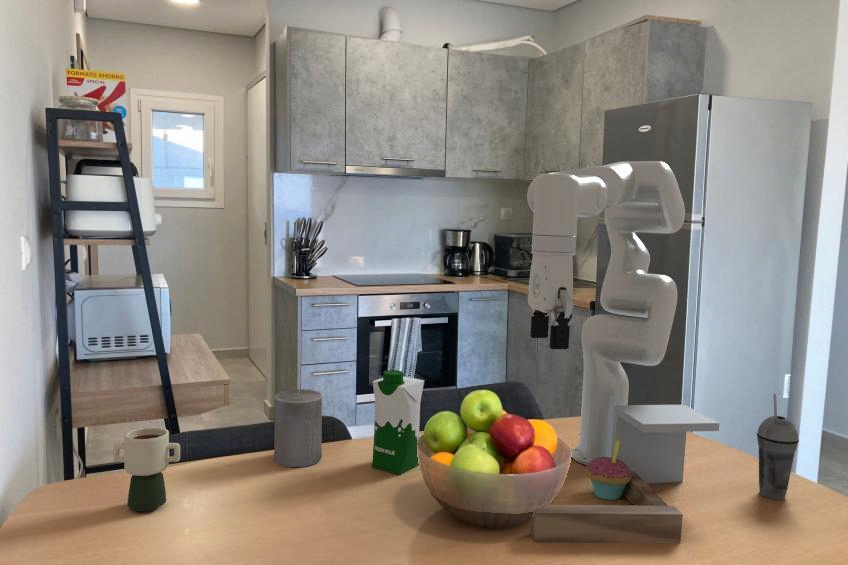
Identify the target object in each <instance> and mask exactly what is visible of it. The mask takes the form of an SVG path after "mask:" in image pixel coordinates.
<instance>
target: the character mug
mask: <svg viewBox="0 0 848 565" xmlns="http://www.w3.org/2000/svg"><path fill="white" fill-rule="evenodd" d="M169 440H170V431H169V430H168V429H166V428H164V427H158V426H147V427H141V428H139V427H138V428H135V429H131V430H129V431H127V432H126V433H124V441H123V442H121V443H120V442H119V443H118V442H117V443H114V444H113V449H112V450H113V451H112V452H113V453H112V454H113V456H112V457H113V462H115V463H124V464H123V465H124V470H125V472H126V474H128V475H131V477H130V482H129V490H128V495H127V496H128V497H127V505H126V506H127V507H128V508H129V509H130V510H132V511H136V512H148V511H151V510H155V509H157V508H160V507H161V506H163V505H165V503H167V491H166V483H165V477H164V474H163V472H164V471H165V470H166V469H167V468H168V466H169V464H170V463H173V462H174V463H175V462H176V463H177V462H179V461H180V460H181V444H180V443H178V442H170V441H169ZM122 449H123V451H124V454H123V456H120V450H122ZM172 449H173V454H174V455H172V456H170V450H172Z"/></svg>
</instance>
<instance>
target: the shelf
mask: <svg viewBox="0 0 848 565" xmlns="http://www.w3.org/2000/svg"><path fill="white" fill-rule="evenodd" d="M719 431H720V422H718V421H717V420H715V419H712V418H710V417H708V416H706V415H705V414H703V413H701V412H700V411H697V410H695V409H694V408H692V407H690V406H688V405H686V404H633V405H631V404H630V405H629V404H627V405H614V418H613V433H612V448H611V458H613V454H614V449H615V444H616V440H618V438H619V437H620V438H619V441H620V443H619V448H618V452H617V457H616V459H619V460H621V461H622V462H625V463H626V465H627V466H628V467H629V468H630V470H631V471H635V472H636V473H637V474H638V475H639V476H640V477H641V478H642V479H643V480H644V481H645V482H646V483H647V484H659V483H661V484H664V483H683V482H684V481H683V480H684V469H685V456H686V444H687V443H686V442H687V433H688V432H689V433H690V432H719Z"/></svg>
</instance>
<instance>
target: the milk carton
mask: <svg viewBox="0 0 848 565" xmlns="http://www.w3.org/2000/svg"><path fill="white" fill-rule="evenodd" d="M424 385H425V380H423V379H419V378H413V377H407V376H404V372H403V371H401V370H396V369H394V370H393V369H391V370H390V369H387V370H384V371H383V373H382V377H381V378H378V379H375V380H373V381H372V387H373V388H372V389H373V395H374V417H373V418H374V420H373V422H374V425H373V444H372V445H373V446H372V451H373V452H372V460H371V461H372V463H371V467H372V468H375V469H377V470H381V471H385V472H389V473H391V474H395V475H399V476H401V475H403V474H404V473H406V472H408V471H410V470H412V469H414V468H416V467H418V466H420V463H419V464H418V457H417V441H418V439H420V417H421V416H420V415H421V413H420V412H421V400H422V395H423V389H424Z"/></svg>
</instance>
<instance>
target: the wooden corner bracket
mask: <svg viewBox="0 0 848 565" xmlns="http://www.w3.org/2000/svg"><path fill="white" fill-rule="evenodd" d="M631 472H632V477H631V479H630V482H629V483H627V484H626V485H625V487H624V489H623V491H622V495H624V497H626V499H627V500H628V501H629V503H630V504H631V505H625V504H624V505H621V504H620V505H618V504H616V505H615V504H613V505H612V504H609V505H608V504H605V505H604V504H547V505H548V506H545V507H544V508H542V509H539V510H536V511H535V514H534V516H533V517H532V516H531V520H530V524H531V525H530V534H531V537H532V539H533V542H534V543H579V544H580V543H582V544H583V543H587V544H588V543H590V544H591V543H592V544H593V543H595V544H596V543H598V544H599V543H601V544H603V543H605V544H681V541H682V540H681V539H682V528H683V513H682V512H681V511H680V510H679V509H678V508H677V507H676V506H675V505H668V504H667V503H666V502H665V501H664V500H663V499H662V497H660V496H659V495H658V494H657V493H656V491H655V490H654V489H652V488H651V487H650V485H649V483H646V482H645V481H644V480H643V479H642V478H641V477H640V476H639V475H638V474H637V473H636V472H635V471H631ZM632 504H633V505H632Z"/></svg>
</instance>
